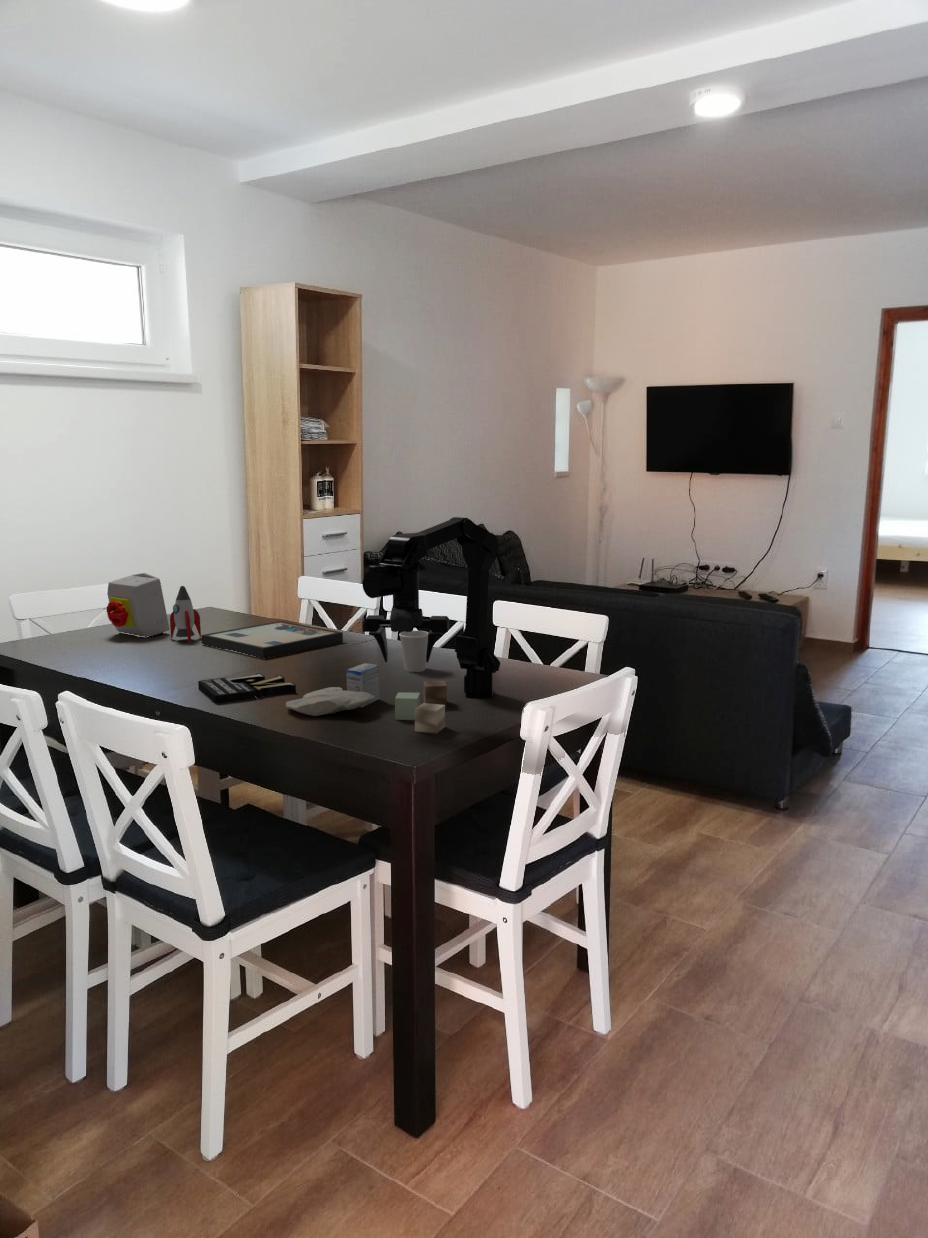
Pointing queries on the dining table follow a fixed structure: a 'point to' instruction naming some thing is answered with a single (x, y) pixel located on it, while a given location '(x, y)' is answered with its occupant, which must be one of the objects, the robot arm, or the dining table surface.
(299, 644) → the board game box
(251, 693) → the decorative sign
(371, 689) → the medicine box
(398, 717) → the sage cube
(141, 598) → the electrical switch box
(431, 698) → the walnut cube
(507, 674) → the dining table surface
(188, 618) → the toy
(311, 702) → the rock
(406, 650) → the dixie cup
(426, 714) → the beech cube
